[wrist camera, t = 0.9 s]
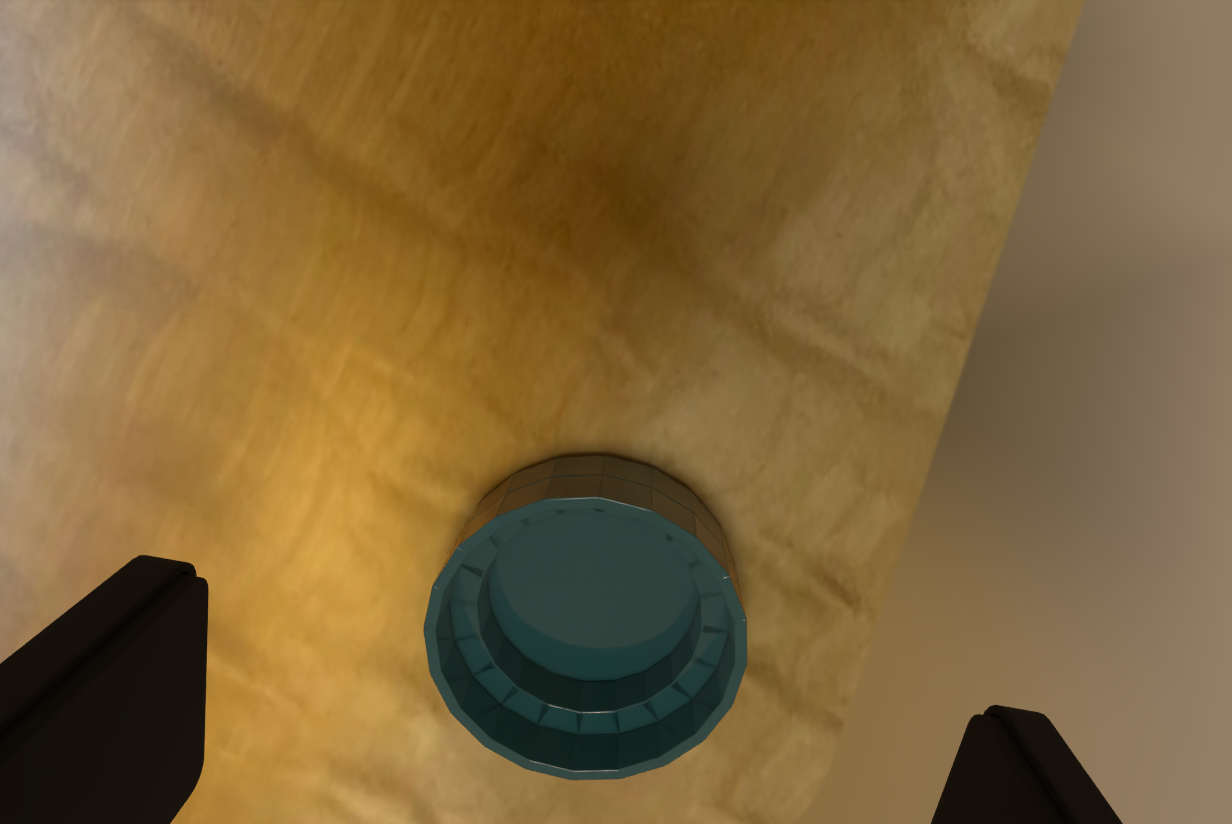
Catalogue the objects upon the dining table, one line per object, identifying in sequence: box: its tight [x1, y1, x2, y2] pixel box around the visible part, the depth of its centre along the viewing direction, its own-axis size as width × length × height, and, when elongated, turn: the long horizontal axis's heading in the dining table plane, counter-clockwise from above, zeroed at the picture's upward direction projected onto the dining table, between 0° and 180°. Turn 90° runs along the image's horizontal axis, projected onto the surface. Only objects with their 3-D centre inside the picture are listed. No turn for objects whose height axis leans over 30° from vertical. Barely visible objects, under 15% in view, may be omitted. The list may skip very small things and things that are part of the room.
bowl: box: [424, 456, 747, 780], centre depth 41 cm, size 15×15×6 cm
